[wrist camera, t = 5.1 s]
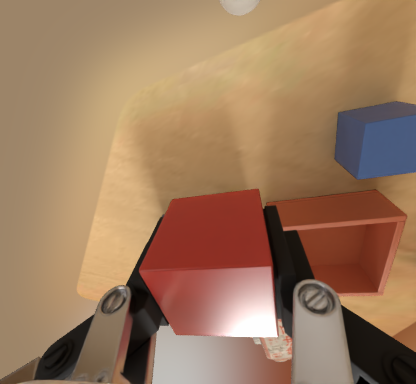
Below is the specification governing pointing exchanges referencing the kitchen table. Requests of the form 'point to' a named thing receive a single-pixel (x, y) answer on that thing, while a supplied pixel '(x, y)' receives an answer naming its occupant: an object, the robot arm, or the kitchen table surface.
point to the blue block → (377, 140)
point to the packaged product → (276, 345)
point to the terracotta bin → (347, 238)
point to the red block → (214, 267)
